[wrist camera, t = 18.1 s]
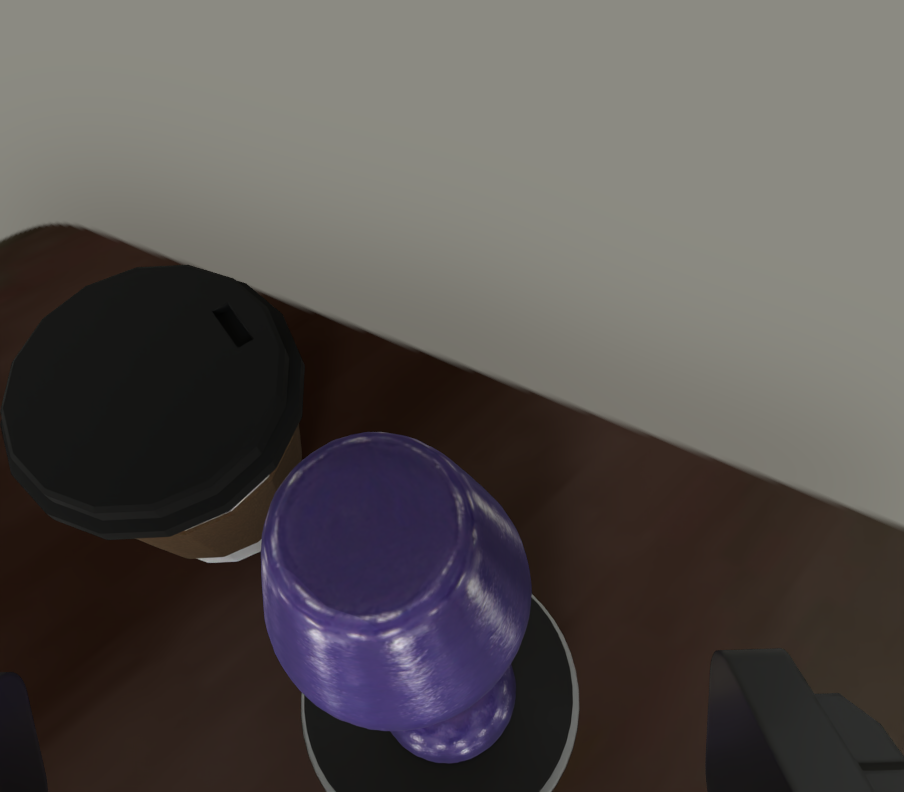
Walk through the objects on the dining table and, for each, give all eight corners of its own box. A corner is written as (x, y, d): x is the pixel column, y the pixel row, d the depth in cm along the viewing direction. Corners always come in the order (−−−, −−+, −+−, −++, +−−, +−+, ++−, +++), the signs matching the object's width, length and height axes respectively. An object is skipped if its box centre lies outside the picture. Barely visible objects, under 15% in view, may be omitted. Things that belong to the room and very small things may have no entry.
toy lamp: (488, 803, 25) (490, 747, 10) (341, 752, 26) (141, 631, 11) (531, 643, 27) (584, 402, 12) (393, 601, 28) (285, 326, 13)
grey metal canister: (300, 774, 35) (236, 751, 26) (411, 583, 38) (387, 504, 29) (496, 897, 32) (499, 919, 23) (594, 681, 36) (629, 629, 27)
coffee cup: (275, 360, 44) (207, 207, 33) (392, 522, 39) (356, 404, 29) (81, 477, 41) (-60, 351, 30) (184, 664, 37) (61, 593, 26)
